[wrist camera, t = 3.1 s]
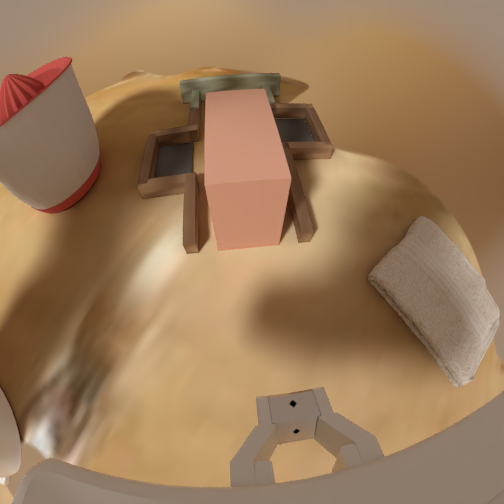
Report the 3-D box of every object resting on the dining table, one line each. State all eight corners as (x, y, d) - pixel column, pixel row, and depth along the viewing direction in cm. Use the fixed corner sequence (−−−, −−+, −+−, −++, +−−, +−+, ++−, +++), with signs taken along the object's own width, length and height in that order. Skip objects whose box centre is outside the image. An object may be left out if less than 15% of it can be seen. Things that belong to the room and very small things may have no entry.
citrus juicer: (12, 215, 29) (-56, 132, 12) (78, 138, 36) (36, 46, 18) (53, 257, 26) (-51, 147, 8) (134, 156, 33) (89, 28, 15)
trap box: (135, 258, 26) (120, 240, 23) (162, 103, 39) (157, 84, 36) (358, 237, 28) (371, 216, 24) (299, 92, 40) (301, 73, 37)
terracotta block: (218, 251, 27) (204, 185, 18) (214, 159, 33) (205, 92, 24) (278, 245, 27) (291, 178, 18) (261, 155, 33) (264, 88, 24)
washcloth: (454, 393, 20) (472, 392, 17) (359, 280, 26) (370, 268, 23) (493, 319, 23) (508, 312, 20) (413, 222, 29) (424, 208, 27)
